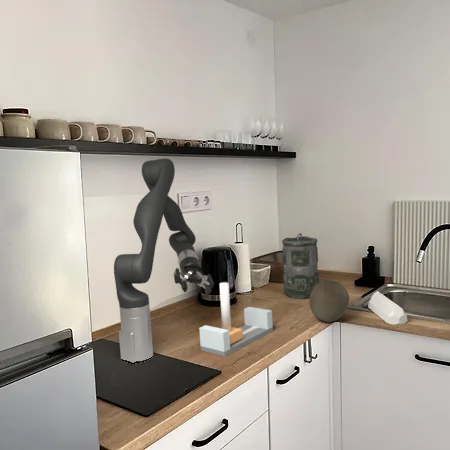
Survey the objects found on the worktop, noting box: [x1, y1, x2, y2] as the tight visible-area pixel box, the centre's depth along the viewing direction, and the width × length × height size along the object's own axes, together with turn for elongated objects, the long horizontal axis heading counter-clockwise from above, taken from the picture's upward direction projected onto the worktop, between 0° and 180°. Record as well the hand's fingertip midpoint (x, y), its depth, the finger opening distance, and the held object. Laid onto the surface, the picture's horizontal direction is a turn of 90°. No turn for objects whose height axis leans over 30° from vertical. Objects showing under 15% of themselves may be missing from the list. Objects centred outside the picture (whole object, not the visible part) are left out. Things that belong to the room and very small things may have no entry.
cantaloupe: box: [309, 280, 350, 323], centre depth 171 cm, size 14×14×15 cm
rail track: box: [199, 306, 274, 358], centre depth 157 cm, size 27×10×8 cm, turn 141°
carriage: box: [219, 281, 243, 344], centre depth 151 cm, size 8×7×19 cm
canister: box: [281, 232, 320, 300], centre depth 210 cm, size 16×16×28 cm
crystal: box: [367, 290, 408, 326], centre depth 174 cm, size 7×7×24 cm
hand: (197, 292), depth 160 cm, fingers open, 8 cm apart
